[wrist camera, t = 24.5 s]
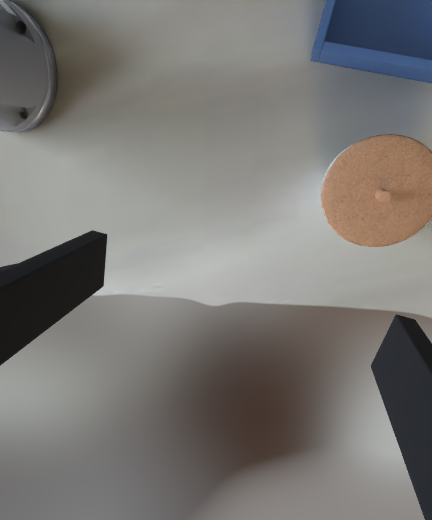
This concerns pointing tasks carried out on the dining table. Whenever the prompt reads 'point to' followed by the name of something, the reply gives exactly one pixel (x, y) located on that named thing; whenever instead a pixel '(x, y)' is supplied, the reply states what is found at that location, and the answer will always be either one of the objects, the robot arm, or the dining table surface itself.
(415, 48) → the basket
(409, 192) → the trinket box
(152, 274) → the dining table surface
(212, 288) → the dining table surface
